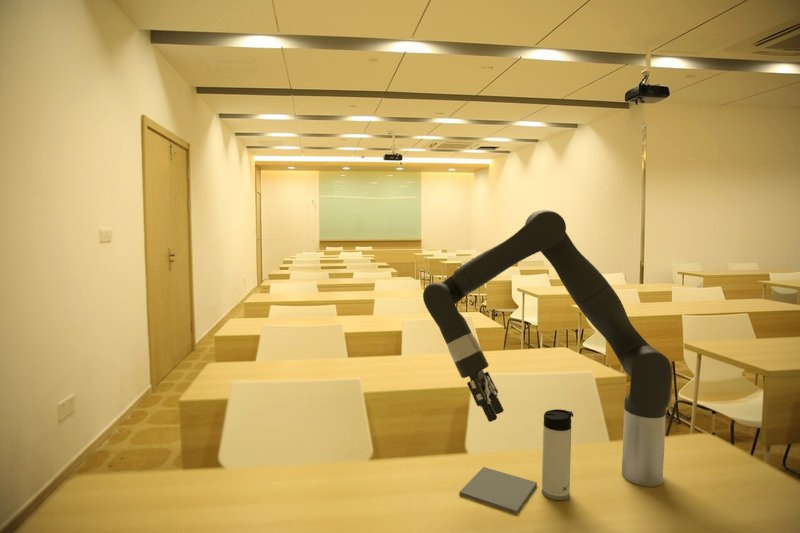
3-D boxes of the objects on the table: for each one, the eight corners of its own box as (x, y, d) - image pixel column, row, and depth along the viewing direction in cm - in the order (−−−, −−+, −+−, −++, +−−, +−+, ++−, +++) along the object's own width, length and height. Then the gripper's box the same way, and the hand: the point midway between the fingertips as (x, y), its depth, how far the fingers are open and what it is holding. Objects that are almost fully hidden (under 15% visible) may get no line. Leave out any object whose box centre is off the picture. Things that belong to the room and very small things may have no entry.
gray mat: (483, 469, 126) (483, 466, 126) (536, 485, 118) (536, 482, 118) (459, 495, 114) (459, 491, 114) (516, 514, 107) (516, 510, 107)
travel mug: (572, 502, 111) (575, 418, 109) (543, 499, 112) (544, 415, 111) (569, 488, 117) (571, 407, 115) (540, 485, 118) (542, 405, 117)
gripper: (473, 351, 114) (505, 417, 110) (486, 346, 127) (515, 404, 123) (446, 364, 116) (476, 429, 113) (461, 358, 130) (489, 416, 126)
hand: (497, 416), depth 118 cm, fingers open, 8 cm apart
